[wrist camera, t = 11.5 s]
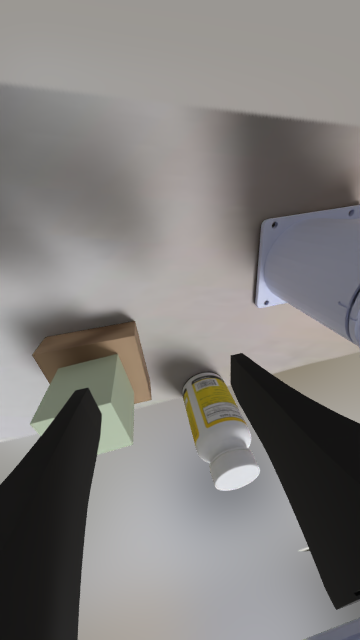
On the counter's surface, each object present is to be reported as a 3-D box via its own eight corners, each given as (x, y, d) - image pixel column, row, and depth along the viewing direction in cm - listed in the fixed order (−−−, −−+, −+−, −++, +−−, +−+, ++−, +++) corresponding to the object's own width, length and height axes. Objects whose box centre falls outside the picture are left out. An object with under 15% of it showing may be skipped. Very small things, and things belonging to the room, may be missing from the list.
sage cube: (117, 353, 17) (110, 402, 12) (134, 392, 19) (133, 444, 15) (58, 368, 16) (29, 424, 12) (82, 406, 19) (66, 463, 15)
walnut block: (134, 318, 19) (134, 335, 16) (149, 378, 23) (151, 399, 20) (47, 334, 18) (32, 354, 15) (78, 393, 22) (70, 418, 19)
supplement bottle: (202, 407, 26) (233, 499, 18) (172, 392, 24) (191, 490, 16) (232, 381, 25) (279, 468, 17) (203, 363, 23) (241, 453, 14)
